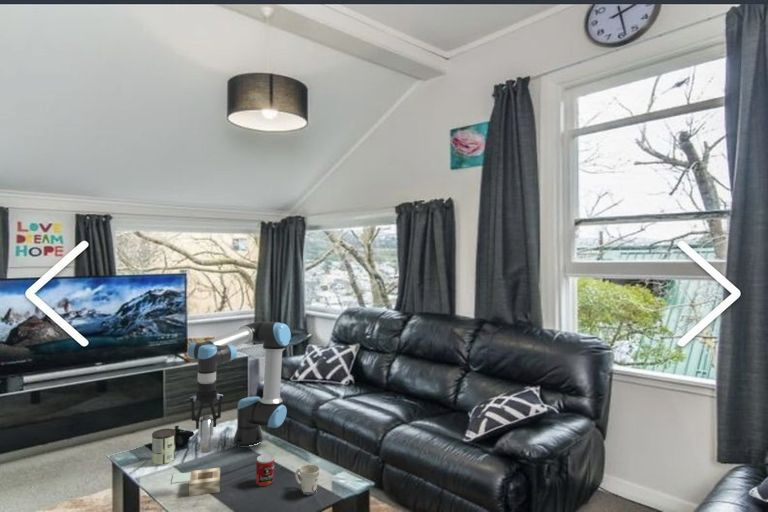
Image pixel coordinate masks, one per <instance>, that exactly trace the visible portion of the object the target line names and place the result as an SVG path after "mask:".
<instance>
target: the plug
mask: <svg viewBox="0 0 768 512" xmlns="http://www.w3.org/2000/svg"><path fill="white" fill-rule="evenodd" d="M212 419H213V417H211V416H210V415H207V414H206V415H204V416H202V417H200V420H201V437H200V446H199V447H200V451H199V452H200V453H202V454H208V453H210V452H211V451H212V436H211V421H212Z"/></svg>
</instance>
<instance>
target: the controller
mask: <svg viewBox="0 0 768 512" xmlns="http://www.w3.org/2000/svg"><path fill="white" fill-rule="evenodd" d="M179 427H180V426H179V425H175V426H174V428H173V429H174V430H175V431H176V432H175V447H176V446H177V447H180V448H181V447H184V446H186V445H187V444H188V443H189V442H190V438H192V437H193V436H194V435H195V433H194V431H193V430H185V429H180V428H179ZM180 438H181V439H182V442H181V441H180Z"/></svg>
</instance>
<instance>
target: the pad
mask: <svg viewBox="0 0 768 512" xmlns="http://www.w3.org/2000/svg"><path fill="white" fill-rule="evenodd" d="M190 476H191V471H189V472H182V473H181V472H180V473H173V475H172V479H171V484H172V485H173V484H178V483H187V482H189V483H190Z"/></svg>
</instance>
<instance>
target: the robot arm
mask: <svg viewBox="0 0 768 512" xmlns="http://www.w3.org/2000/svg"><path fill="white" fill-rule="evenodd" d="M291 337H292V333H291V329H290V327H289V326H288V325H287V324H285V323H283V322H278V321H277V322H276V321H263V320H262V321H255V322H251V323H248V324H245V325H242V326H240V327H239V328H238V329H236V330H233V331H231V332H228V333H226V334H223V335H220V336H216V337H215V338H214V337H213V338H212V339H209V340H206V341H205V340H204V341H203V342H198V341H197V342H192V343H190V344H189V345H188V347H187V356H188V358H190V359H193V360H196V361H197V388H196V389H197V390H196V391H197V392H196V394H195V395H193V396H190V397H189V401H190V405H191V406H190V407H191V421H195V429H196V430H198V438H201V414H202V411H203V407H204V405H205V404H209V406H210V411H211V415H212V421H211V437H212V436H214V428H216V427H217V419H221V416H222V400H223V397H224V394H223V393H221V394H220V393H218V392H217V366H218V365H222V364H225V363H229V362H231V361H233V360H234V359H236V357H237V349H236V347H238V346H241V345H243V344H244V345H248V344H252V343H257V344H262V349H263V350H264V352H265V357H264V377H263V394H262V397H260V396H248V397H244V398H242V399H239V401H238V403H237V408H236V409H237V420H236V421H237V422H236V423H237V425H236V426H237V427H236V431H235V433H234V437H233V444H234V445H235V444H236V445H239V446H249V445H254V444H257V443H259V442H261V441H262V440H263V441H264V435H263V431H262V429H261V426H263V427H268V428H274V429H276V428H279V427H280V426H282V424H283V423H284V421H285V419H286V417H287V411H288V409H287V407H286V405H284V404H283V398H282V397H281V386H282V385H281V381H282V363H283V351H284V350H286V346H288V345H289V344H290V341H291ZM215 399H217V402H218V403H217V414H216V409H215V406H214V405H215V404H214V400H215ZM196 400H198V401H199V402H200V403H199V406H198V411H197V413H196ZM196 414H197V415H196ZM263 441H262V442H263ZM236 445H235V446H236ZM239 446H238V447H239Z"/></svg>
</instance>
